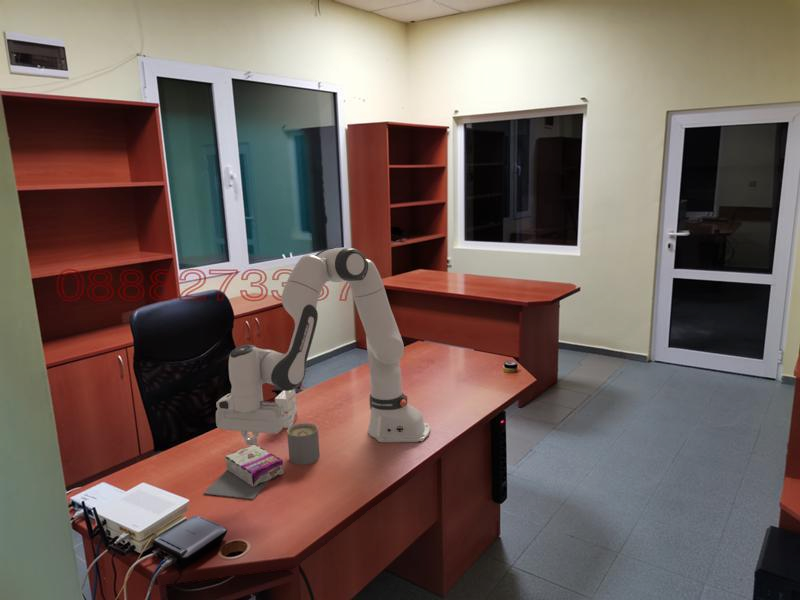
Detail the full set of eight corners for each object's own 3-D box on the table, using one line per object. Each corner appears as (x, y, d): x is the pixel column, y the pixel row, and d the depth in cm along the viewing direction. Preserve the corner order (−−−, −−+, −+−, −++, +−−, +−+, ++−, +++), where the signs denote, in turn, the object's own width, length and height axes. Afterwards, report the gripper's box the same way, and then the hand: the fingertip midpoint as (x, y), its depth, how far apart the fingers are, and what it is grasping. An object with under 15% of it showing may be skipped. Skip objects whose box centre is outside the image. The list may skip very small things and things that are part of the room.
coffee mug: (307, 467, 180) (305, 438, 178) (283, 460, 185) (280, 432, 182) (331, 449, 191) (329, 422, 189) (308, 443, 196) (306, 416, 194)
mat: (277, 471, 178) (276, 470, 178) (253, 499, 163) (253, 498, 163) (231, 467, 181) (230, 466, 181) (203, 494, 166) (203, 493, 166)
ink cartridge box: (285, 418, 217) (283, 382, 214) (297, 418, 216) (295, 382, 213) (276, 427, 209) (273, 390, 206) (289, 428, 208) (286, 391, 205)
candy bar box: (284, 474, 176) (256, 456, 187) (283, 459, 174) (255, 442, 186) (252, 488, 168) (225, 469, 179) (251, 473, 167) (224, 455, 178)
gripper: (284, 398, 166) (288, 441, 169) (222, 394, 170) (226, 436, 173) (275, 407, 160) (279, 451, 163) (210, 402, 164) (215, 446, 167)
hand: (251, 443), depth 168 cm, fingers closed
